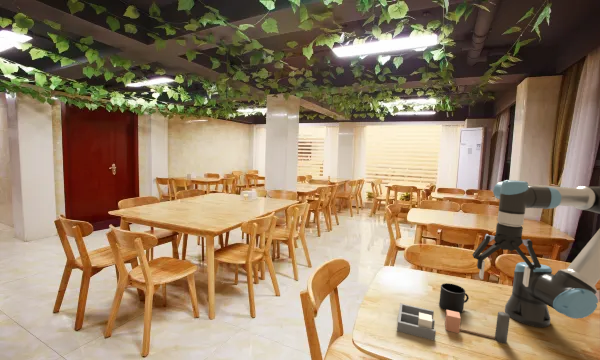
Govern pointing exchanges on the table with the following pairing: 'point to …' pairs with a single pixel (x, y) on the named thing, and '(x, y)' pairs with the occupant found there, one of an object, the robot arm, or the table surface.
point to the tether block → (500, 335)
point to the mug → (452, 297)
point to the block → (425, 320)
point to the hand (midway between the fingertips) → (502, 281)
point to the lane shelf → (414, 321)
